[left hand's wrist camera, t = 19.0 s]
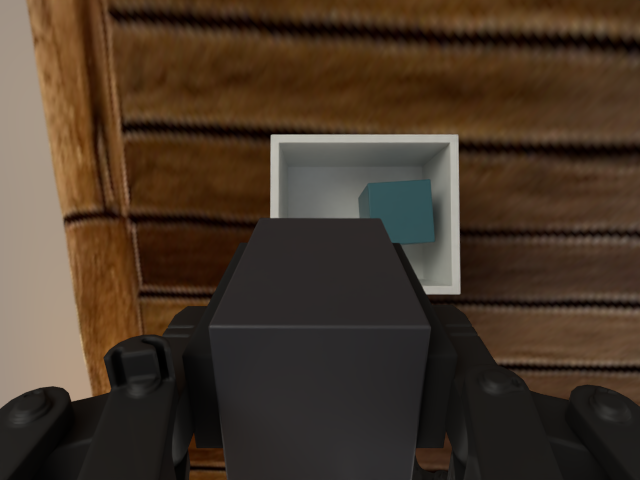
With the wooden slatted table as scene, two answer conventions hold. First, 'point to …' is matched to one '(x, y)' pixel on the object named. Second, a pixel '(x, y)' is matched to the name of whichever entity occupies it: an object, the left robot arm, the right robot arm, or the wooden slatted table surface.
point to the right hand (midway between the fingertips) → (359, 398)
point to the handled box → (371, 167)
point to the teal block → (401, 209)
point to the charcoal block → (319, 354)
